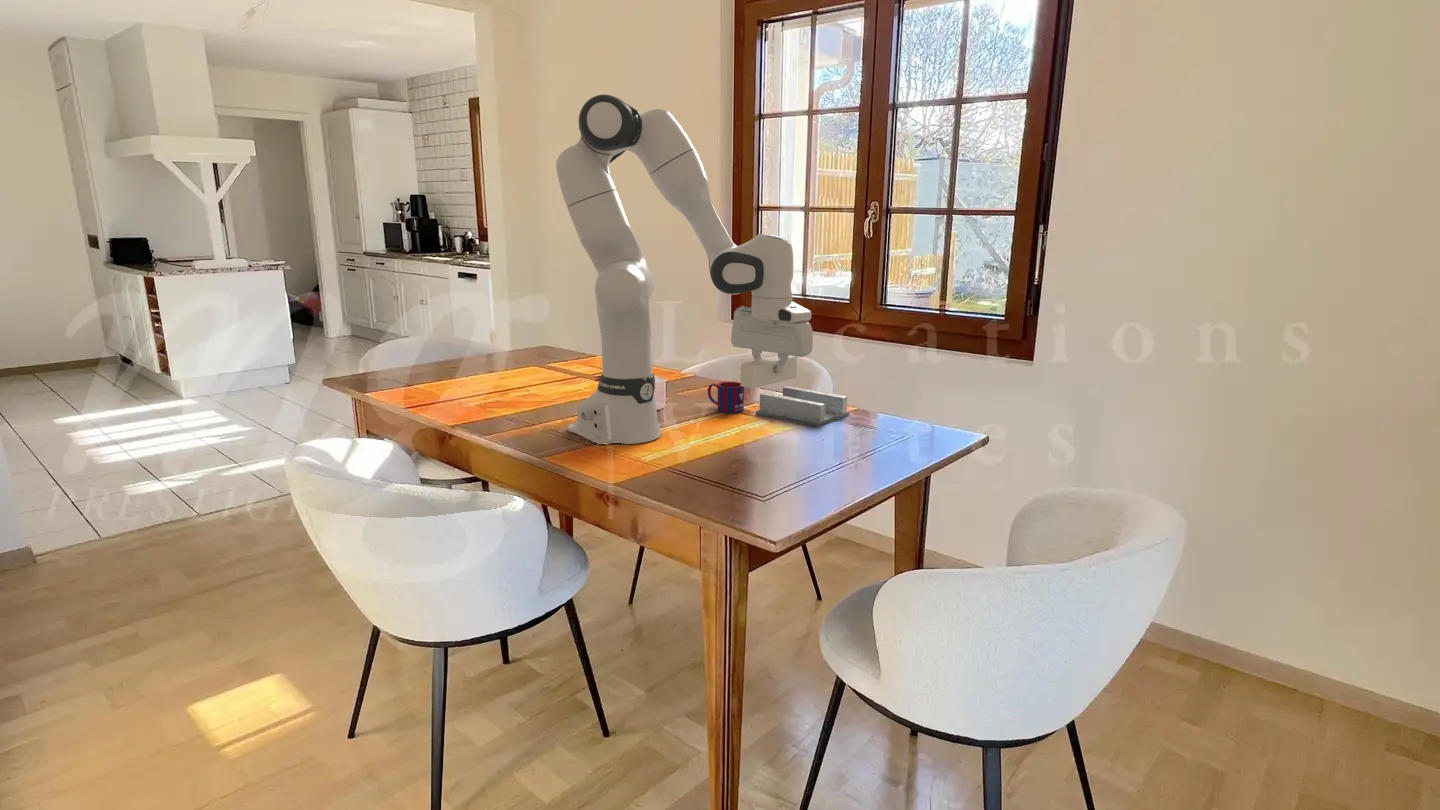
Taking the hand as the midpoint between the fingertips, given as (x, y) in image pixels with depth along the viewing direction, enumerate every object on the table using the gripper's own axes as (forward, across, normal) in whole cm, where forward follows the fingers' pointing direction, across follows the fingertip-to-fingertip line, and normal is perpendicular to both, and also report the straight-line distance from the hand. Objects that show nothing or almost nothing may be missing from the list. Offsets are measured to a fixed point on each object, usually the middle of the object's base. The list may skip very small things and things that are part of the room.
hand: (769, 371), depth 175 cm
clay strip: (+2, 0, 0) cm, 2 cm away
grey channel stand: (+14, -4, +20) cm, 25 cm away
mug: (+15, -22, +11) cm, 29 cm away
